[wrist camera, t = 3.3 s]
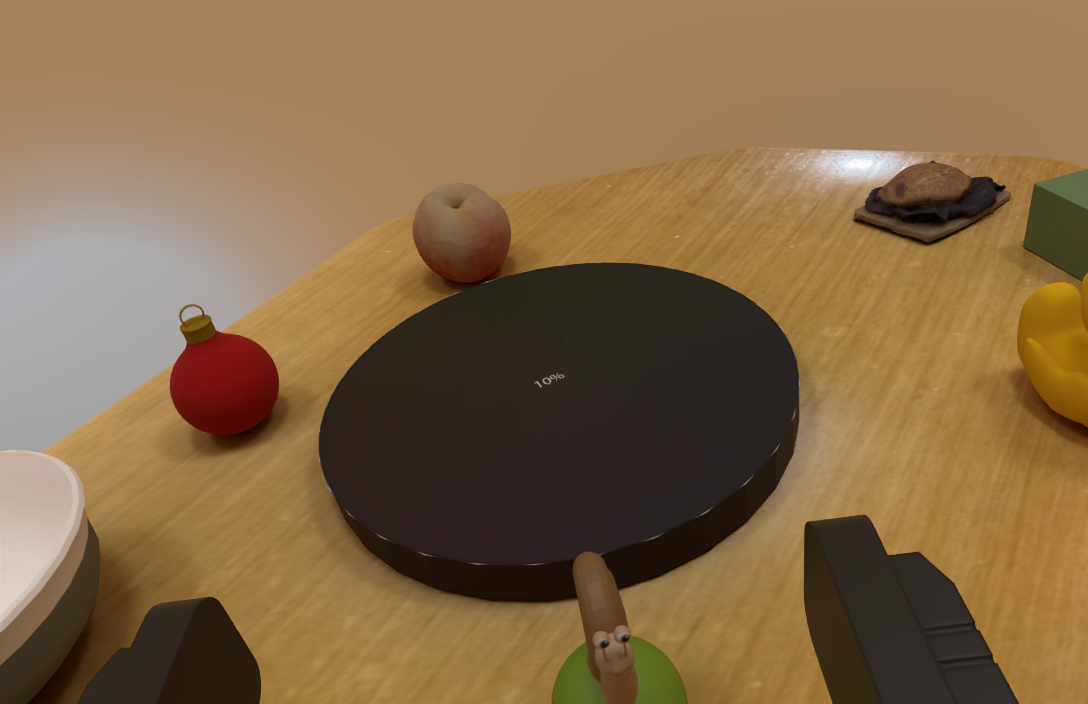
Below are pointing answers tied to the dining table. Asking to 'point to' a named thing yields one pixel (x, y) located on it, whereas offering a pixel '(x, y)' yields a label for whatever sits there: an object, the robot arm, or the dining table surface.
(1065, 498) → the dining table surface
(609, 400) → the disc
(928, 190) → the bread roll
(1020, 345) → the duckling
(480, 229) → the fruit
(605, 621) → the snail figurine
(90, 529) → the bowl
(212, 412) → the christmas ornament
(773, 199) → the dining table surface
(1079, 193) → the green block
